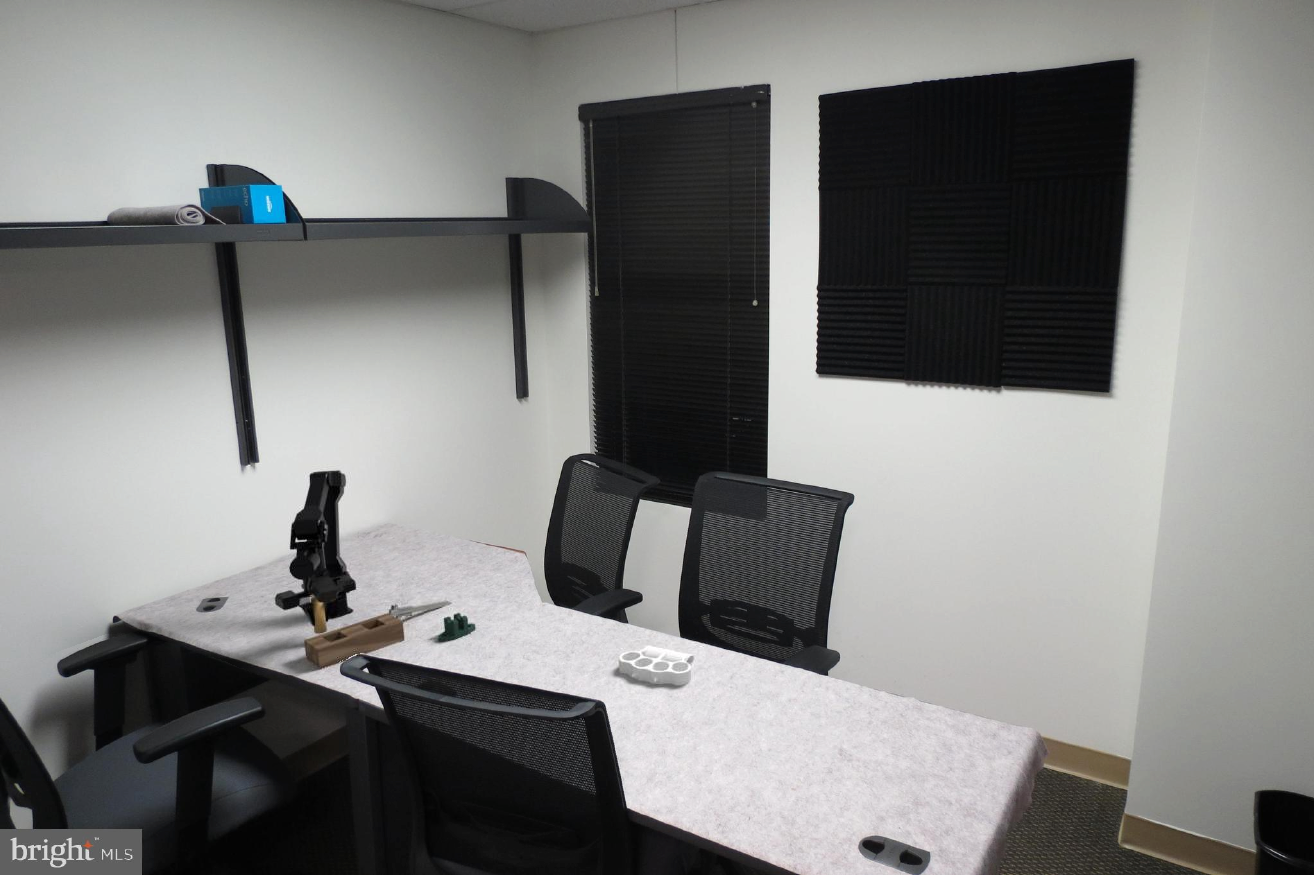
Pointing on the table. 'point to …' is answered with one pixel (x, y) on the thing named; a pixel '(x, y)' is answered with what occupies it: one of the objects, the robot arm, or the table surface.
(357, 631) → the hole block
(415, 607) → the caliper
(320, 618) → the peg
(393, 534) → the table surface
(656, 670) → the white brass knuckles
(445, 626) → the mount
